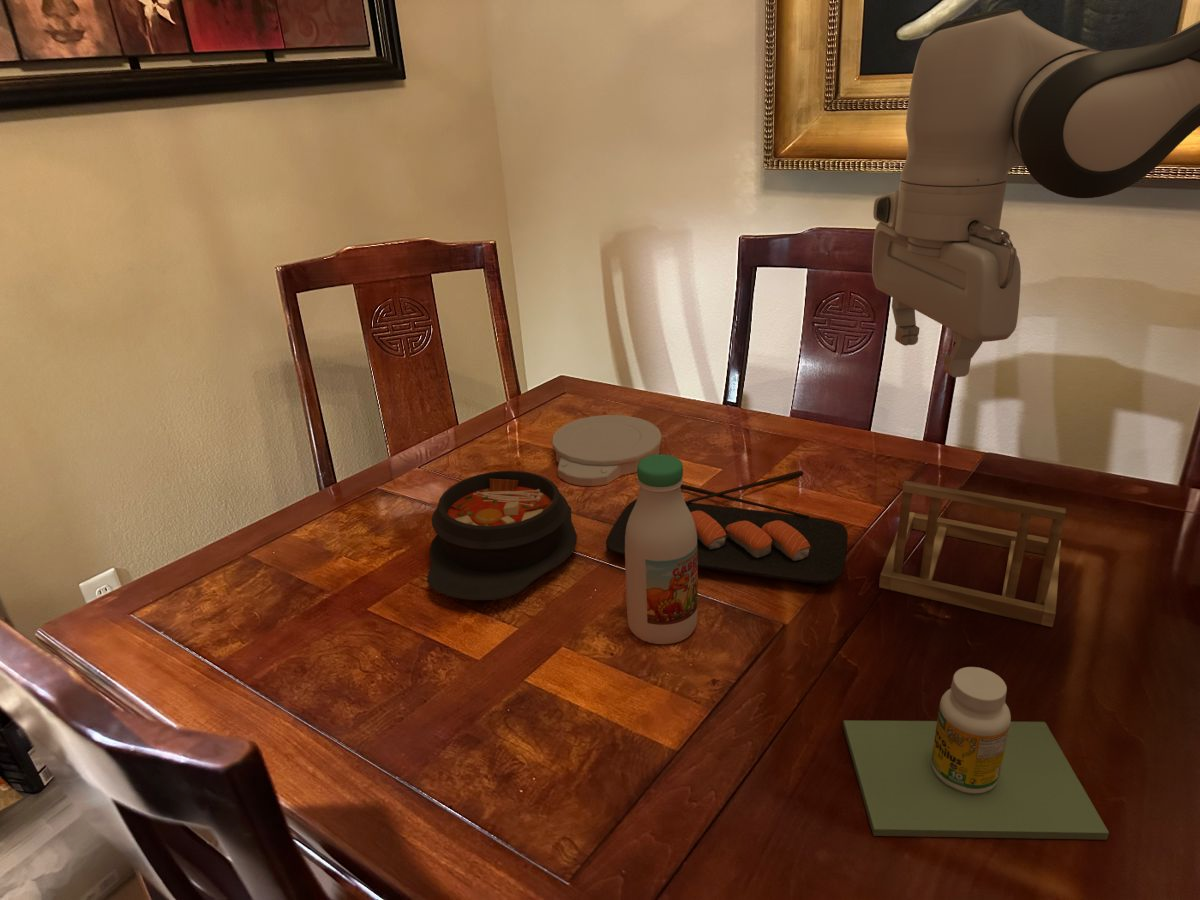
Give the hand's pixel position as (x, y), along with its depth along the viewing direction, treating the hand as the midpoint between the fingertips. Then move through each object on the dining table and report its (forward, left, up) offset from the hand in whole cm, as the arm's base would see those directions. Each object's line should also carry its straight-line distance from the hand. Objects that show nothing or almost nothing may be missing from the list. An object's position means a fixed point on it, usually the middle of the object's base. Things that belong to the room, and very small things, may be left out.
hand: (929, 358), depth 82 cm
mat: (-18, +17, -29) cm, 38 cm away
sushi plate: (+25, -1, -29) cm, 39 cm away
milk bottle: (+15, +22, -29) cm, 40 cm away
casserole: (+39, +27, -29) cm, 56 cm away
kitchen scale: (+52, 0, -29) cm, 60 cm away
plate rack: (-2, -12, -29) cm, 32 cm away
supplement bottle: (-18, +17, -28) cm, 38 cm away
